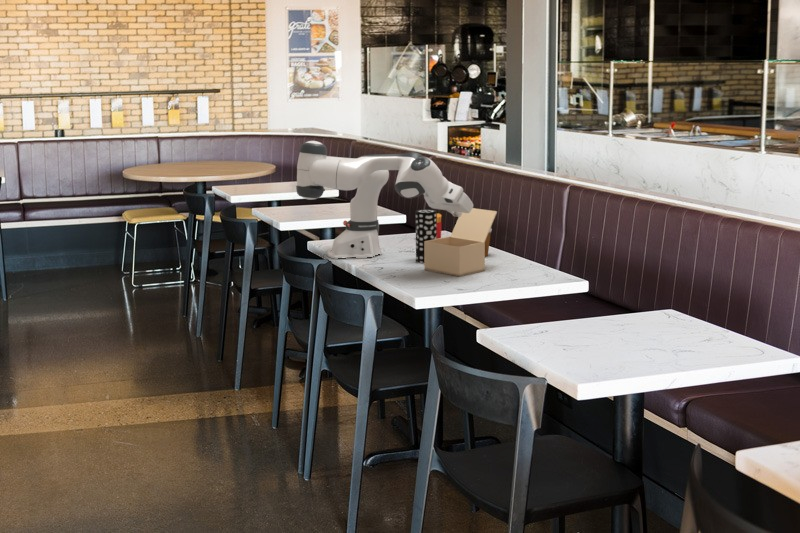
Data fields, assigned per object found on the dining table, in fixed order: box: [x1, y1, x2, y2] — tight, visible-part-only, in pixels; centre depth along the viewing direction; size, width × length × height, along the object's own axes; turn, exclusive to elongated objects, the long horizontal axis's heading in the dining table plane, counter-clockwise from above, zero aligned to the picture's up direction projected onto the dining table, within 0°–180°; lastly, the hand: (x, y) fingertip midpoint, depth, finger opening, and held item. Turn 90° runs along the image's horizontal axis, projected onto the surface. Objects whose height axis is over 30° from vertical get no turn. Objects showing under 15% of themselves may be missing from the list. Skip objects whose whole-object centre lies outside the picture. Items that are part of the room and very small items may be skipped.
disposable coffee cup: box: [485, 227, 493, 258], centre depth 394 cm, size 10×10×12 cm
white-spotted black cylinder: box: [415, 209, 438, 264], centre depth 383 cm, size 8×8×20 cm
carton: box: [423, 236, 486, 278], centre depth 366 cm, size 14×18×11 cm
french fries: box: [437, 213, 442, 239], centre depth 423 cm, size 9×4×13 cm, turn 27°
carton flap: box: [450, 207, 498, 242], centre depth 372 cm, size 13×17×1 cm
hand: (458, 215), depth 363 cm, fingers closed
